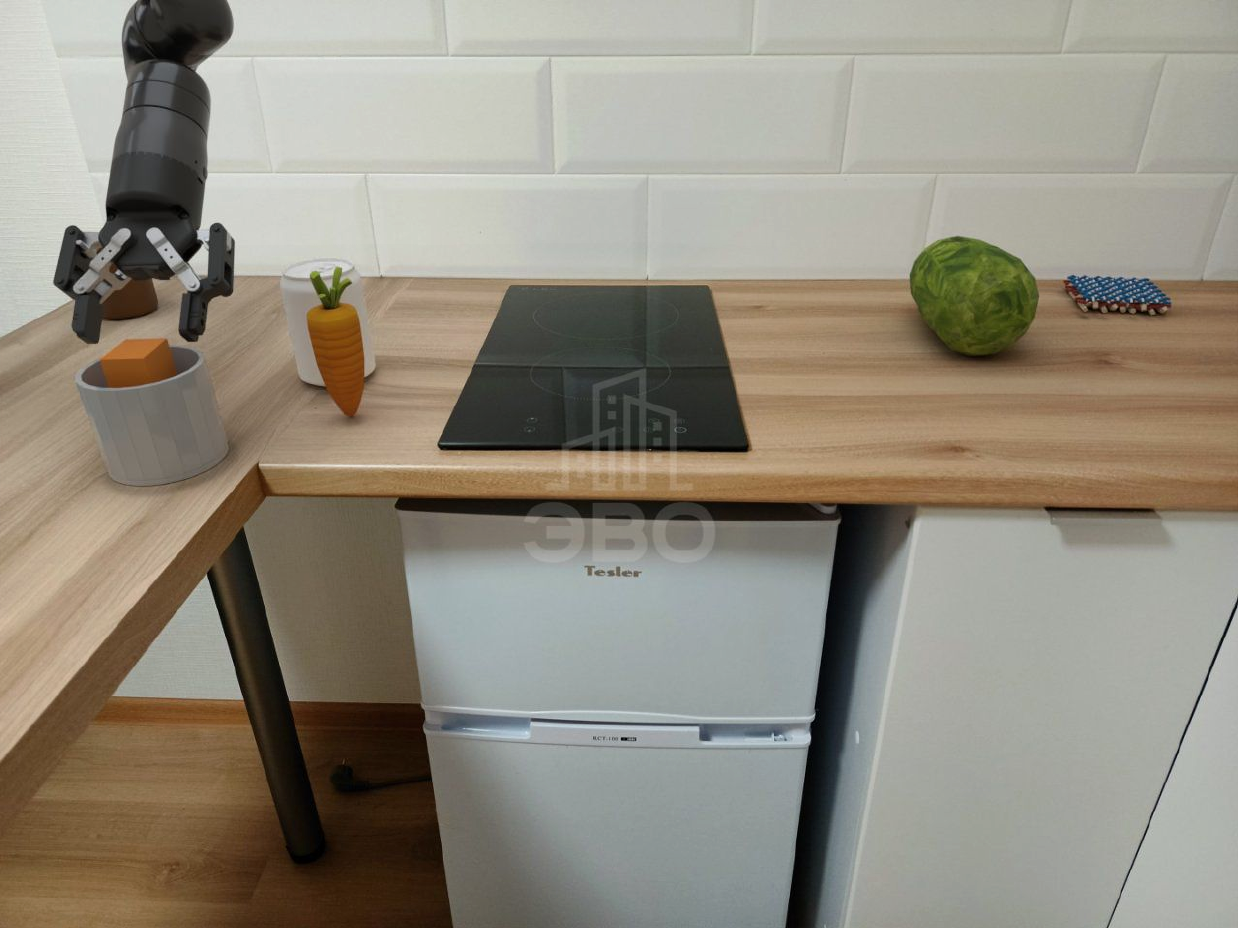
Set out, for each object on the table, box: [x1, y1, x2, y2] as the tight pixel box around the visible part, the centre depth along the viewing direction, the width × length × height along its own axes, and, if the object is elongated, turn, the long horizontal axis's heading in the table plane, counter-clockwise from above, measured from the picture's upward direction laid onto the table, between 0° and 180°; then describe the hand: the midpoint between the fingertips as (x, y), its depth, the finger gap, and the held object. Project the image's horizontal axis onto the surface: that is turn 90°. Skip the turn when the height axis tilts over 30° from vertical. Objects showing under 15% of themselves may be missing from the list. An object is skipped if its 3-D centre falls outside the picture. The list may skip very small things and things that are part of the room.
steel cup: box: [74, 344, 230, 487], centre depth 76 cm, size 10×10×9 cm
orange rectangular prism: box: [99, 337, 177, 388], centre depth 75 cm, size 4×5×10 cm
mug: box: [91, 247, 159, 320], centre depth 113 cm, size 12×8×9 cm, turn 17°
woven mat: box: [1062, 274, 1172, 316], centre depth 111 cm, size 10×11×2 cm
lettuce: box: [909, 235, 1040, 357], centre depth 99 cm, size 12×21×11 cm, turn 2°
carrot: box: [307, 267, 365, 418], centre depth 81 cm, size 5×5×15 cm
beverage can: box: [279, 257, 377, 388], centre depth 91 cm, size 8×8×12 cm
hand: (137, 339), depth 73 cm, fingers open, 8 cm apart
